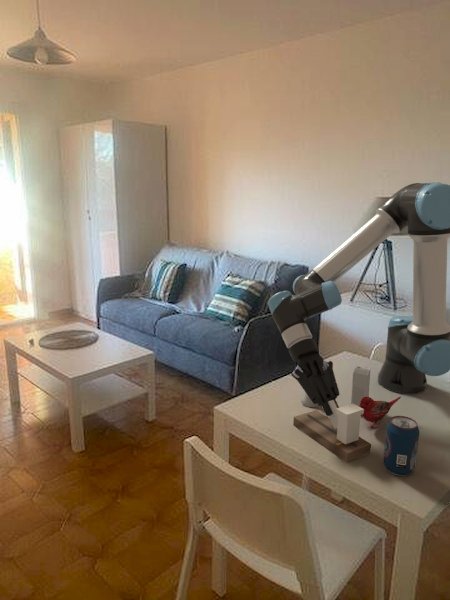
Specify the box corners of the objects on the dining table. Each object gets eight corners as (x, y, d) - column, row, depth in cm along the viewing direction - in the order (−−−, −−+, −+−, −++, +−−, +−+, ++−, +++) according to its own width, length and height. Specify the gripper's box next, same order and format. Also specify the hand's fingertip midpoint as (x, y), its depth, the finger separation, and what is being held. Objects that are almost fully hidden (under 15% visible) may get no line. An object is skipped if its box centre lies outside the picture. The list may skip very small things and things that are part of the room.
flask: (325, 409, 134) (327, 377, 132) (300, 407, 135) (301, 375, 133) (324, 398, 141) (327, 368, 139) (301, 396, 142) (302, 366, 140)
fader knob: (333, 438, 113) (336, 408, 111) (350, 432, 116) (352, 403, 114) (344, 445, 110) (347, 414, 108) (361, 439, 113) (363, 409, 111)
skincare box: (365, 415, 131) (369, 375, 128) (349, 412, 133) (352, 373, 130) (368, 406, 136) (372, 368, 133) (353, 403, 138) (356, 365, 135)
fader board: (293, 425, 125) (293, 416, 124) (315, 418, 129) (316, 409, 128) (346, 462, 108) (347, 452, 108) (370, 453, 112) (371, 443, 112)
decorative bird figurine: (352, 431, 122) (355, 397, 120) (394, 414, 132) (397, 382, 129) (360, 436, 120) (363, 401, 117) (403, 418, 129) (406, 385, 127)
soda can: (382, 457, 110) (386, 412, 107) (413, 463, 108) (418, 416, 105) (383, 474, 104) (388, 426, 101) (416, 480, 102) (422, 431, 99)
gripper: (312, 346, 131) (350, 425, 121) (274, 354, 124) (312, 437, 114) (326, 333, 125) (367, 415, 115) (287, 341, 118) (328, 428, 109)
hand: (339, 426), depth 115 cm, fingers closed
